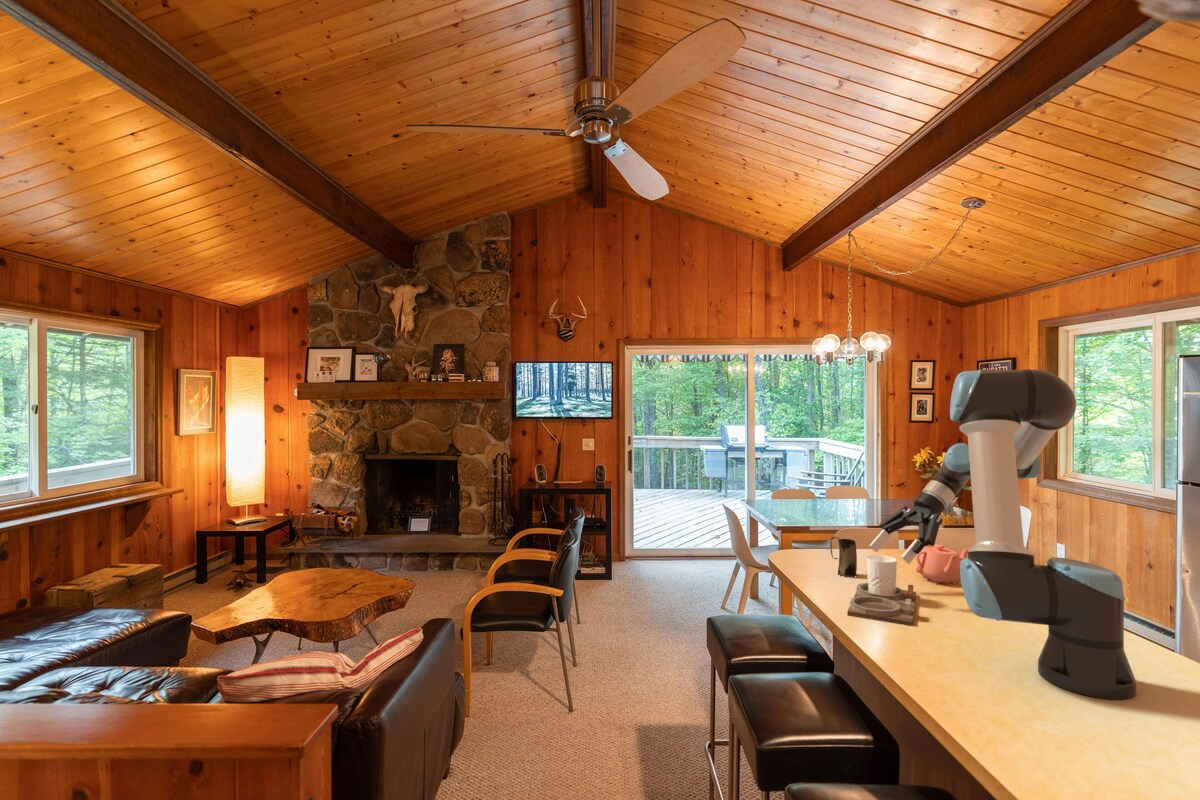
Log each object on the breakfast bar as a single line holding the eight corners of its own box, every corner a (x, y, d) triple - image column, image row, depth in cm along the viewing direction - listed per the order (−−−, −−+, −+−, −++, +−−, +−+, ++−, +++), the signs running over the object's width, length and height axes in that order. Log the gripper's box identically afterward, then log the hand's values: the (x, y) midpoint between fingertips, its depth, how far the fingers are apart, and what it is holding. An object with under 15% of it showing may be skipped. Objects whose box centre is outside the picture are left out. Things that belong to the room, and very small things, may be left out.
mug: (853, 572, 195) (853, 535, 195) (859, 577, 189) (859, 539, 189) (828, 572, 196) (828, 535, 196) (833, 577, 190) (832, 539, 190)
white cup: (903, 596, 168) (903, 560, 168) (882, 599, 165) (882, 563, 165) (881, 588, 176) (880, 553, 176) (860, 591, 173) (860, 556, 173)
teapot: (922, 571, 197) (922, 537, 197) (972, 580, 186) (972, 545, 186) (906, 580, 187) (906, 544, 187) (957, 590, 176) (957, 553, 176)
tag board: (912, 625, 149) (912, 609, 149) (847, 615, 156) (847, 599, 156) (916, 595, 172) (916, 581, 172) (859, 587, 180) (859, 574, 180)
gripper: (976, 516, 164) (928, 575, 160) (910, 502, 188) (868, 552, 185) (959, 497, 163) (911, 556, 159) (895, 485, 187) (853, 536, 184)
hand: (888, 554), depth 172 cm, fingers open, 13 cm apart
